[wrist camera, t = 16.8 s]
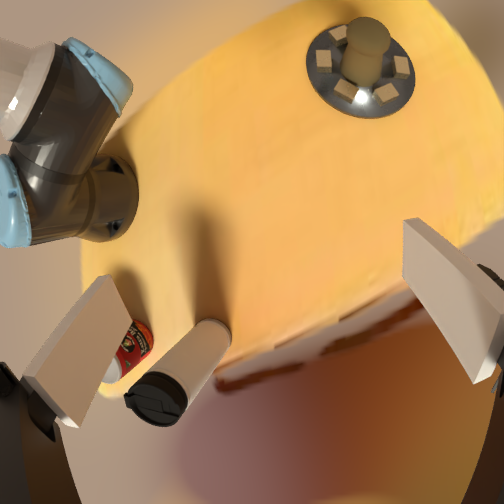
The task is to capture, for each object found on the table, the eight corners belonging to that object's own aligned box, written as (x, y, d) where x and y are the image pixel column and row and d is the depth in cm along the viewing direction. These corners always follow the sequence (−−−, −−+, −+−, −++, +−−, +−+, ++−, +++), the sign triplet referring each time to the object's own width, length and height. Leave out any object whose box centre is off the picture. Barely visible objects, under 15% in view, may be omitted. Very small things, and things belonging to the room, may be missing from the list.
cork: (332, 57, 34) (333, 15, 23) (369, 47, 32) (379, 6, 21) (350, 91, 34) (359, 55, 23) (388, 81, 32) (406, 45, 22)
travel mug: (191, 315, 46) (117, 378, 26) (231, 320, 44) (171, 393, 25) (194, 349, 47) (129, 421, 28) (232, 355, 45) (179, 437, 26)
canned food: (162, 345, 48) (128, 375, 38) (137, 362, 50) (103, 390, 40) (136, 310, 48) (96, 333, 38) (113, 329, 50) (76, 352, 40)
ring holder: (308, 116, 37) (307, 109, 34) (304, 26, 34) (302, 15, 31) (418, 124, 33) (425, 119, 31) (404, 33, 31) (408, 24, 28)
